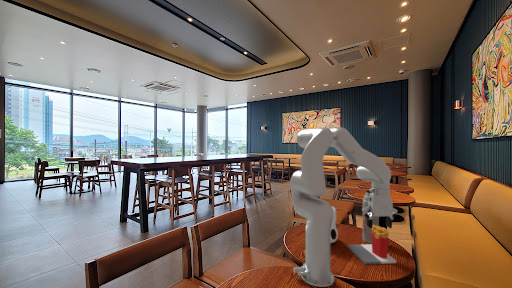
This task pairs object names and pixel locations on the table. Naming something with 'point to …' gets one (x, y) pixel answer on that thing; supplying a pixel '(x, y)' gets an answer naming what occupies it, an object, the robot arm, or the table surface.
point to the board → (369, 254)
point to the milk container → (333, 228)
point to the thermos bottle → (365, 229)
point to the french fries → (379, 241)
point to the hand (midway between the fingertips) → (379, 227)
